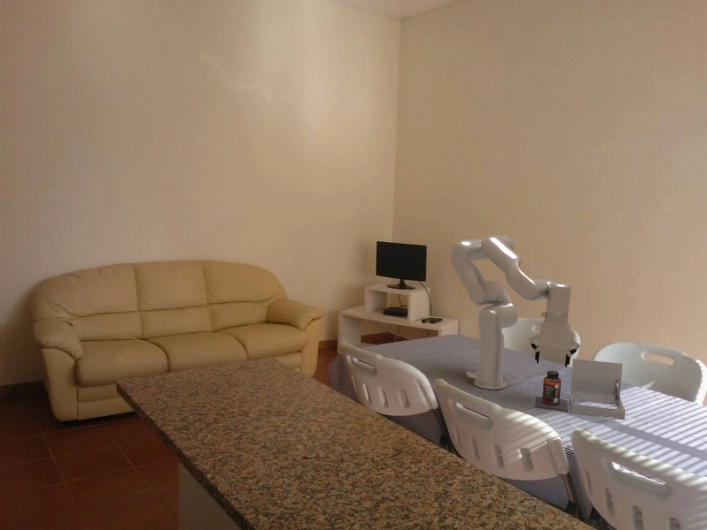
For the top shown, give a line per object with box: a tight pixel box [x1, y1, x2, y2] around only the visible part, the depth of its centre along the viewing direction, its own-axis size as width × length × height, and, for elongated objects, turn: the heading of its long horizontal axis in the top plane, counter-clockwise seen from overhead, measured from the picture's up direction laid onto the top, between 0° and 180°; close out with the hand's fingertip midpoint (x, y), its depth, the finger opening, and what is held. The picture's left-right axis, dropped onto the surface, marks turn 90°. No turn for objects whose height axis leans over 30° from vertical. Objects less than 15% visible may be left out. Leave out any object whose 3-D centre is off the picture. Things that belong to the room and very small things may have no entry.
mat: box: [534, 395, 569, 413], centre depth 203 cm, size 11×11×1 cm
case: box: [569, 358, 626, 421], centre depth 200 cm, size 17×17×15 cm
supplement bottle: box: [541, 370, 562, 405], centre depth 203 cm, size 6×6×11 cm
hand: (551, 364), depth 202 cm, fingers open, 9 cm apart
